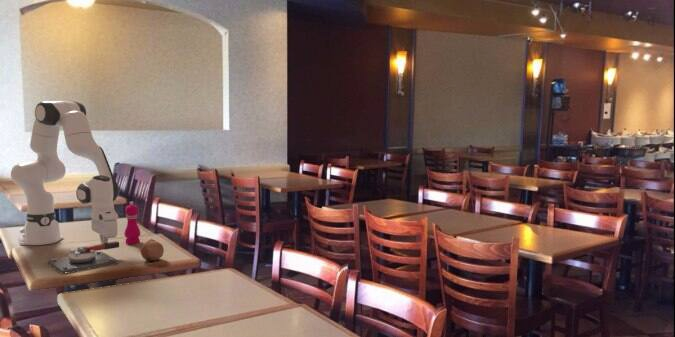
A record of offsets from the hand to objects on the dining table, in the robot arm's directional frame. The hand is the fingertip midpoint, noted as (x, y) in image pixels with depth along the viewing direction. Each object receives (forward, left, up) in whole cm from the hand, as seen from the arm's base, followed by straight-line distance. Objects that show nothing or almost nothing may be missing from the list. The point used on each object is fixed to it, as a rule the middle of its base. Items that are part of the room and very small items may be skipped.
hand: (104, 244), depth 245 cm
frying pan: (+5, -6, -4) cm, 9 cm away
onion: (+19, +13, -6) cm, 24 cm away
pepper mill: (-15, +19, -6) cm, 25 cm away
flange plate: (+5, -11, -5) cm, 13 cm away
